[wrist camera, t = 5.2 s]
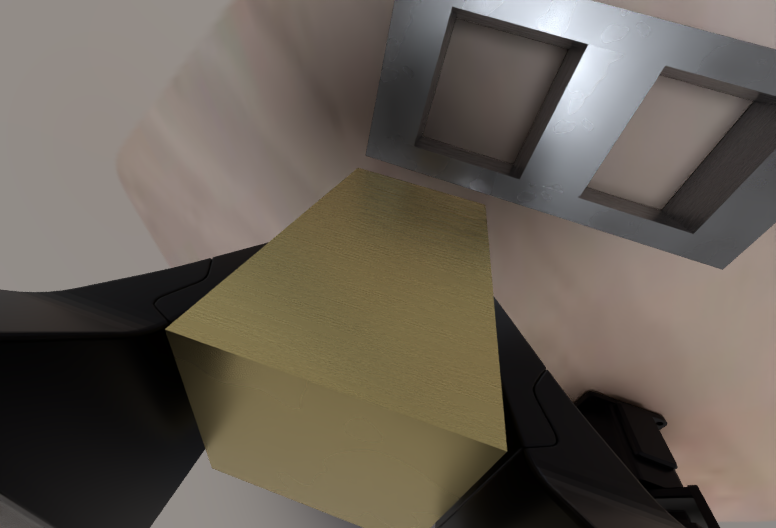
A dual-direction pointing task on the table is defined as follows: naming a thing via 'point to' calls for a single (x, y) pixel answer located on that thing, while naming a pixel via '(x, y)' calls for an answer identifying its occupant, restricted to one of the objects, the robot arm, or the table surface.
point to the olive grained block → (354, 357)
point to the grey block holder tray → (592, 119)
